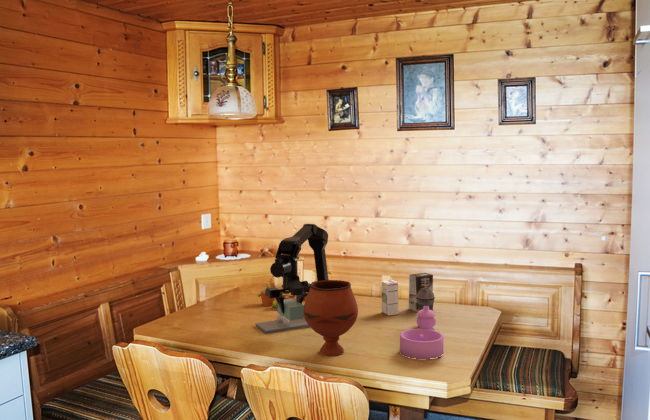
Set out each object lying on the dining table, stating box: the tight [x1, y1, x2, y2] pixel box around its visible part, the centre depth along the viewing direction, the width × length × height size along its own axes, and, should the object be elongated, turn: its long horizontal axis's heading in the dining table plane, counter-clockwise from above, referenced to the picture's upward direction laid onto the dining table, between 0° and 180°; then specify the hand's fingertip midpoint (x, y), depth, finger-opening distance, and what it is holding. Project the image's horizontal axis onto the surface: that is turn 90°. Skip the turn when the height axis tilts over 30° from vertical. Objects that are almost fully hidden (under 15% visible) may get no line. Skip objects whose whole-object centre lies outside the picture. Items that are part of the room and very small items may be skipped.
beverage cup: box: [417, 278, 436, 312], centre depth 235 cm, size 7×7×20 cm
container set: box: [399, 306, 444, 360], centre depth 208 cm, size 25×15×13 cm, turn 163°
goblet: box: [303, 279, 359, 357], centre depth 204 cm, size 19×19×25 cm
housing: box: [277, 299, 305, 320], centre depth 221 cm, size 6×12×5 cm, turn 27°
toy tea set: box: [257, 285, 307, 311], centre depth 274 cm, size 26×16×10 cm, turn 141°
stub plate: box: [255, 313, 311, 335], centre depth 237 cm, size 20×12×4 cm, turn 117°
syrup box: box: [381, 279, 399, 316], centre depth 254 cm, size 6×6×14 cm
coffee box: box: [408, 272, 434, 313], centre depth 260 cm, size 9×6×16 cm
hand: (290, 312), depth 221 cm, fingers closed on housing, 6 cm apart
